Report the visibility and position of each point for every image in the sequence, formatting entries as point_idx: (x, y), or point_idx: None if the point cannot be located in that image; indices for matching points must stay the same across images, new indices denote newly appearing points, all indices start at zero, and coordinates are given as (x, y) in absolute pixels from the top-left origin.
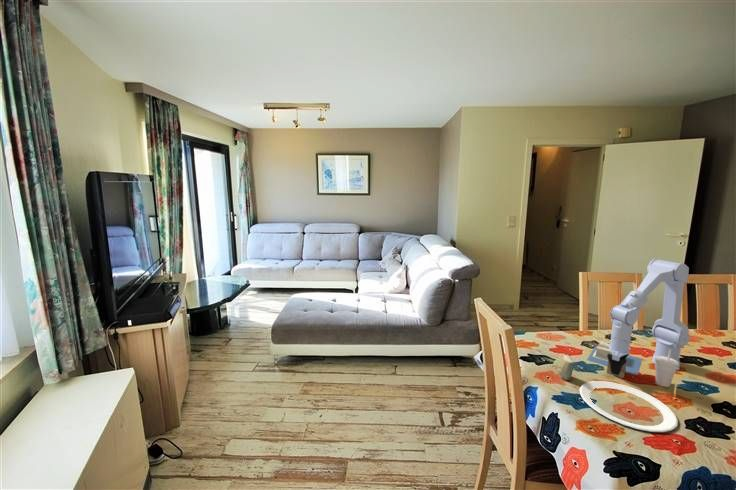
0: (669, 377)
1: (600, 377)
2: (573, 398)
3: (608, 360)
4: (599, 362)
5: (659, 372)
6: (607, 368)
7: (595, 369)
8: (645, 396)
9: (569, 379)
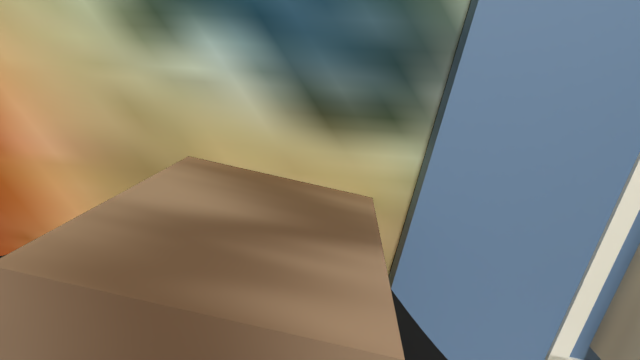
0: None
1: (41, 76)
2: None
3: (4, 260)
4: (502, 86)
5: None
6: (138, 185)
7: (254, 20)
8: None
9: None
